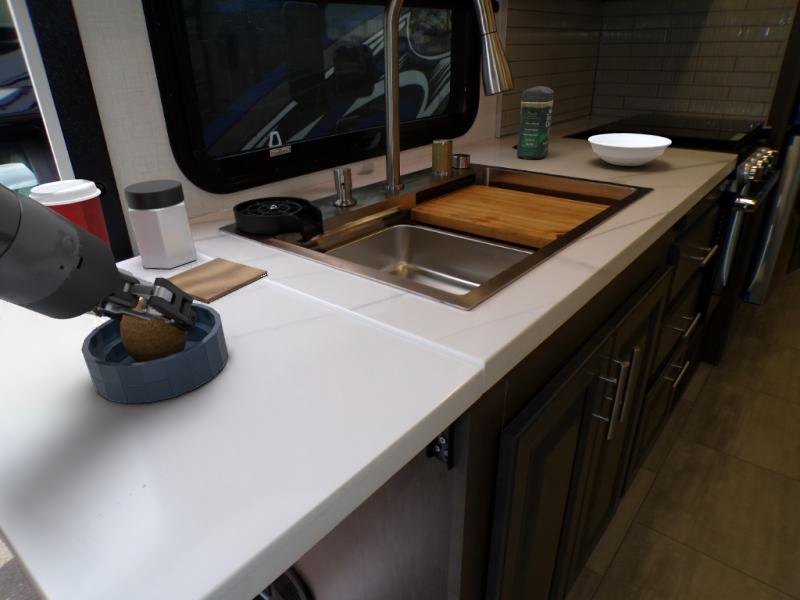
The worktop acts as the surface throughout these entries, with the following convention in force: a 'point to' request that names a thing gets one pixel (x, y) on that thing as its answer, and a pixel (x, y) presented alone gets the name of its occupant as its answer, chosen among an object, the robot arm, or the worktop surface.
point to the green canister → (535, 122)
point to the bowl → (628, 148)
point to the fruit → (150, 338)
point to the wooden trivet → (215, 279)
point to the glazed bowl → (155, 362)
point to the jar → (160, 223)
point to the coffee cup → (74, 204)
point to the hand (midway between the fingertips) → (163, 319)
